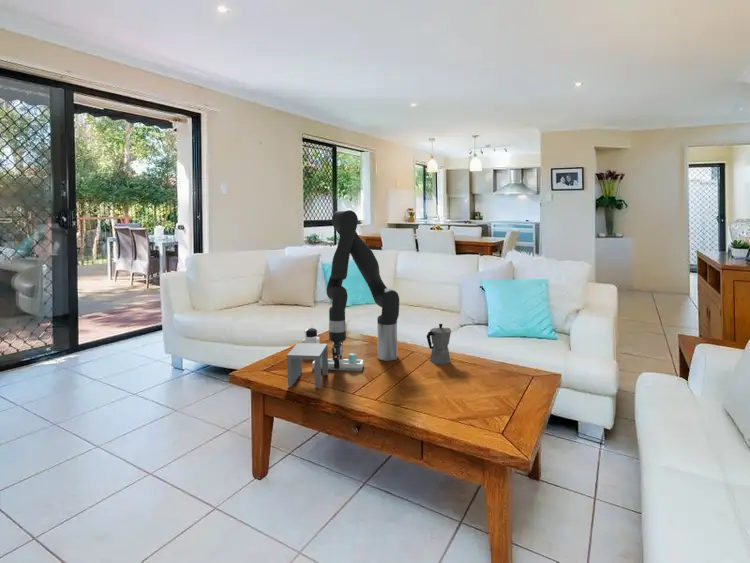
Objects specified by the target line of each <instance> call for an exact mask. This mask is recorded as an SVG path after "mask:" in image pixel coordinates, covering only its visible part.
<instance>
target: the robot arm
mask: <svg viewBox="0 0 750 563" xmlns="http://www.w3.org/2000/svg"><path fill="white" fill-rule="evenodd" d="M358 222H359V218H358V215H357V214H356V212H355V211H353V210H351V209H340V210H336V211H334V212H333V214H332V215H331V223H332V226H333V228H334V229H335V231H336V232H337V233H338V235H339V239H338V243H337V246H336V249H335V251H334V255H333V258H332V261H331V271H330V276H329V279H328V283H327V286H326V296H327V298H328V299H330V300H332V303H331V304H332V305H331V306H330V307H329V309H328V318H329V319H328V340H329V341H330V342H333V344H332V348H331V350H332V351H331V352H332V353H331V354H332V359H333V361H334V368H335V369H339V360H340V359H343V353H344V341H346V340H347V323H346V308H347V302H348V290H347V289H346V288H345V286H343V282H344V280H346V279H347V276H348V269H349V261H350V256H351V257H352V259H353V262H354V263H355V265H356V266H357V267H356V268H357V269H358V271H359V272H360V274H361V275H362V277H363V279H364V280H365V283H366V284H367V287H368V288H369V290H370V293H371V296H372V298H373V301H374V302H375V304H376V305H377V306H378V307H380V308H381V313H380V314H379V315H378V316H377V325H376V326H377V328H376V329H377V359H378V360H381V361H384V362H385V361H386V362H387V361H388V362H389V361H397V358H398V319H399V314H400V296H399V293H398V292H397V291H396V290H393V289H390V288H388V287H387V286H386V283H384V281H383V280H382V277H381V274H380V266H379V261H378V259H377V258H376V256H375V253H374V252H373V250H372V249H371V248H370V246H369V245H368V244H367V243H366V242H365V241H364V240H363V239H362V238H361V237H360V235H359V234H358V233H357V226H358Z"/></svg>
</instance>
